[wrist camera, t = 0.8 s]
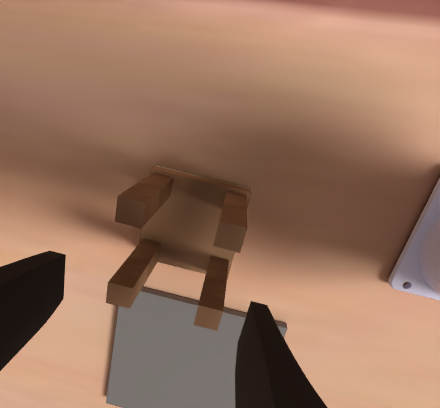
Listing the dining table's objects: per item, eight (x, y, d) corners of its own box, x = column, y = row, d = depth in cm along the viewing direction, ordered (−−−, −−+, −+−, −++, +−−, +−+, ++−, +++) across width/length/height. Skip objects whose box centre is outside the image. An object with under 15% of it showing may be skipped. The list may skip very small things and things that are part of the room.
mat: (286, 323, 20) (287, 328, 20) (244, 432, 24) (244, 439, 23) (124, 282, 20) (121, 286, 20) (108, 397, 24) (106, 403, 24)
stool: (250, 187, 17) (252, 224, 12) (228, 269, 19) (220, 335, 14) (156, 164, 17) (113, 190, 12) (143, 248, 19) (101, 305, 14)
